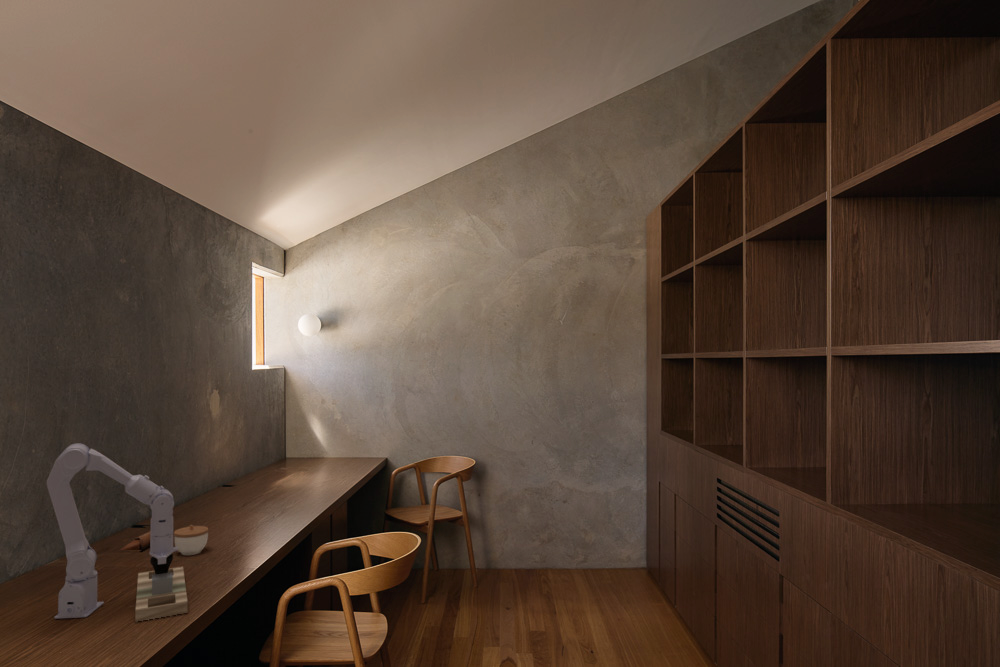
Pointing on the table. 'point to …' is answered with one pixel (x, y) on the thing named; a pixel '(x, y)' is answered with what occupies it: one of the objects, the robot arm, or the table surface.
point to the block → (162, 583)
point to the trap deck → (160, 597)
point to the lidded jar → (191, 539)
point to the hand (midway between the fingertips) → (161, 582)
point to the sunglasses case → (139, 543)
